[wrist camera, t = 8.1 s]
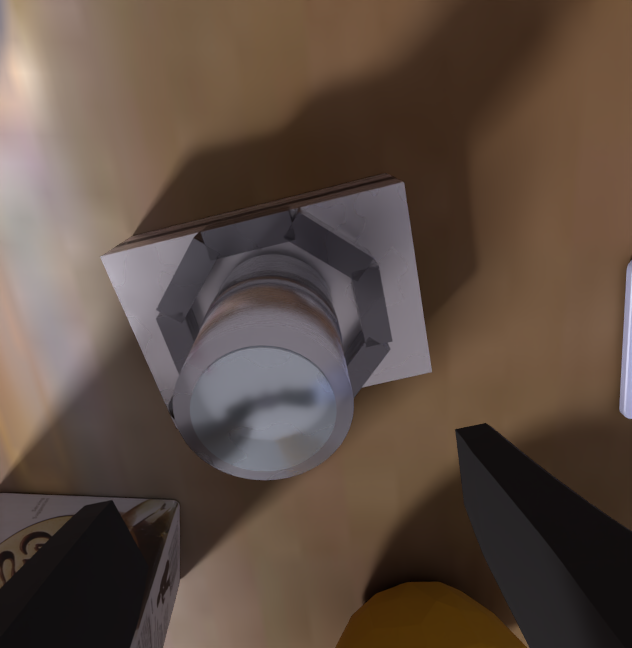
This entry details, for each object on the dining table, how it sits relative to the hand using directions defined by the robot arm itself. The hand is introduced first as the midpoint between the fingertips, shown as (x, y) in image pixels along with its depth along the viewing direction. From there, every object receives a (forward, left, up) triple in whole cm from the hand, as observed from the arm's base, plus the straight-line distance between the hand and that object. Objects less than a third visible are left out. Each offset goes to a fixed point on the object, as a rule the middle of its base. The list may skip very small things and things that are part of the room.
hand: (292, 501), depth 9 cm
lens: (0, -1, -7) cm, 7 cm away
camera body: (0, -1, -10) cm, 10 cm away
